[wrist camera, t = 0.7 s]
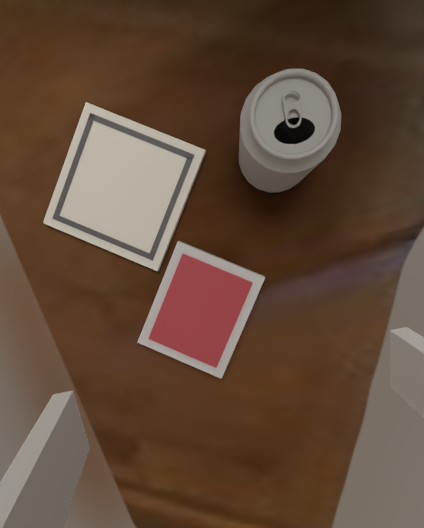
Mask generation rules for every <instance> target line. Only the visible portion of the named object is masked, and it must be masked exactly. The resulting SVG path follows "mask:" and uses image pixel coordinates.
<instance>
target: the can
mask: <svg viewBox="0 0 424 528" xmlns="http://www.w3.org/2000/svg"><path fill="white" fill-rule="evenodd" d="M340 130H341V111H340V107H339V104H338V100H337V97H336V94H335V92H334V91H333V89H332V88H331V86H330V85H329V83H328V82H327V81H326V80H325V79H323V78H322V77H321V76H319V75H318V74H317V73H315V72H312V71H308V70H305V69H286V70H284V71H281V72H278V73H275V74H273V75H271V76H268V77H267V78H265V79H264V80H263V81H261V82H260V83H259V84H257V85H256V86H255V87H254V89H253V90H252V91H251V93H250V94H249V95H248V97H247V98H246V100H245V103H244V106H243V109H242V112H241V116H240V139H239V165H240V168H241V172H242V174H243V175H244V177H245V178H246V180H247V181H248V182H249V183H250V184H251V185H253V186H254V187H255V188H257V189H259V190H262V191H265V192H282V191H285V190H288V189H290V188H292V187H293V186H295V185H296V184H298V183H299V182H300V181H301V180H302V179H303V178H304V177H306V176H307V175H308V174H309V173H310V172H311V171H312V170H313V169H314V168H315V167H316V166H317V165H318V164H319V163H320V162H321V161H323V160H324V159H325V157H326V156H327V155H328V154H329V152H330V151H331V150H332V148H333V147H334V146H335V144H336V141H337V138H338V135H339V133H340Z"/></svg>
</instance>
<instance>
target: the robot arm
mask: <svg viewBox="0 0 424 528" xmlns="http://www.w3.org/2000/svg"><path fill="white" fill-rule="evenodd" d="M390 387H391V388H392V389H393V390H394V391H395V392H396V393H397V394H398V395H399V396H400V397H401V398H403V400H405V401H406V402H407V403H408V404H409V405H410V406H411V407H412V408H413V409H414V410H415V411H416V412H417V413H418V414H419V415H421V416H422V417H423V418H424V337H422V336H421V335H419V334H417V333H416V332H414V331H413V330H410V329H409V328H408V327H405V328H399V329H394V330H390ZM89 449H90V447H89V443H88V439H87V436H86V433H85V429H84V426H83V423H82V420H81V416H80V412H79V409H78V406H77V403H76V399H75V396H74V392H73V391H68V392H63V393H58V394H53V396H52V397H51V399H50V401H49V402H48V404H47V406H46V407H45V409H44V411H43V412H42V414H41V415H40V417H39V419H38V421H37V422H36V424H35V425H34V427H33V429H32V430H31V432H30V434H29V435H28V437H27V439H26V440H25V442H24V444H23V445H22V447H21V449H20V450H19V452H18V454H17V455H16V457H15V458H14V460H13V462H12V464H11V465H10V467H9V469H8V470H7V472H6V473H5V475H4V477H3V478H2V480H1V482H0V528H63V526H64V523H65V520H66V517H67V514H68V511H69V508H70V505H71V502H72V499H73V497H74V493H75V490H76V487H77V485H78V481H79V478H80V476H81V473H82V470H83V467H84V464H85V461H86V458H87V455H88V452H89Z"/></svg>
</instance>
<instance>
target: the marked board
mask: <svg viewBox="0 0 424 528" xmlns="http://www.w3.org/2000/svg"><path fill="white" fill-rule="evenodd" d="M205 154H206V150H204V149H202V148H199V147H197V146H194V145H192V144H189V143H187V142H184V141H182V140H179V139H177V138H174V137H172V136H169V135H167V134H164V133H162V132H159V131H157V130H154V129H152V128H149V127H147V126H144V125H142V124H139V123H137V122H134V121H132V120H129V119H127V118H124V117H122V116H119V115H117V114H114V113H112V112H109V111H107V110H104V109H102V108H99V107H97V106H94V105H92V104H89V103H87V102H86V103H85V106H84V109H83V112H82V114H81V117H80V120H79V123H78V126H77V128H76V131H75V134H74V137H73V140H72V143H71V145H70V148H69V151H68V154H67V157H66V159H65V162H64V165H63V168H62V171H61V173H60V176H59V179H58V182H57V185H56V188H55V190H54V193H53V196H52V199H51V202H50V204H49V207H48V210H47V213H46V216H45V219H44V221H43V223H44V224H46V225H49V226H51V227H53V228H56V229H58V230H60V231H63V232H65V233H68V234H70V235H72V236H75V237H77V238H79V239H82V240H84V241H87V242H89V243H91V244H94V245H96V246H98V247H101V248H103V249H106V250H108V251H110V252H113V253H115V254H117V255H120V256H122V257H125V258H127V259H129V260H132V261H134V262H136V263H139V264H141V265H144V266H146V267H148V268H151V269H153V270H155V271H159V270H160V267H161V265H162V262H163V260H164V257H165V255H166V252H167V250H168V247H169V245H170V242H171V239H172V237H173V234H174V232H175V229H176V227H177V224H178V222H179V219H180V217H181V214H182V212H183V209H184V207H185V204H186V202H187V199H188V197H189V194H190V192H191V189H192V187H193V184H194V182H195V179H196V176H197V174H198V171H199V169H200V166H201V164H202V161H203V159H204V156H205Z"/></svg>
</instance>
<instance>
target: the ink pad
mask: <svg viewBox="0 0 424 528" xmlns="http://www.w3.org/2000/svg"><path fill="white" fill-rule="evenodd" d="M264 279H265V277H264V276H263V275H261V274H258V273H256V272H253V271H251V270H249V269H246V268H244V267H241V266H239V265H237V264H234V263H232V262H229V261H227V260H225V259H222V258H220V257H217V256H215V255H213V254H210V253H208V252H205V251H203V250H201V249H198V248H196V247H193V246H191V245H189V244H186V243H184V242H181V241H178V242H177V244H176V247H175V249H174V252H173V254H172V257H171V259H170V262H169V264H168V267H167V269H166V272H165V275H164V277H163V280H162V282H161V285H160V287H159V290H158V292H157V295H156V297H155V300H154V302H153V305H152V307H151V310H150V312H149V315H148V317H147V320H146V322H145V325H144V327H143V330H142V332H141V335H140V337H139V340H138V342H137V343H140V344H142V345H144V346H147V347H149V348H151V349H154V350H156V351H158V352H160V353H163V354H165V355H167V356H170V357H172V358H174V359H177V360H179V361H181V362H184V363H186V364H188V365H191V366H193V367H195V368H197V369H200V370H202V371H204V372H207V373H209V374H211V375H214V376H216V377H218V378H221V379H222V377H223V374H224V372H225V370H226V367H227V365H228V363H229V360H230V358H231V356H232V353H233V351H234V349H235V347H236V344H237V342H238V340H239V337H240V335H241V333H242V330H243V328H244V326H245V323H246V321H247V319H248V316H249V314H250V312H251V309H252V307H253V305H254V302H255V300H256V298H257V295H258V293H259V291H260V289H261V286H262V284H263V282H264Z"/></svg>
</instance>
